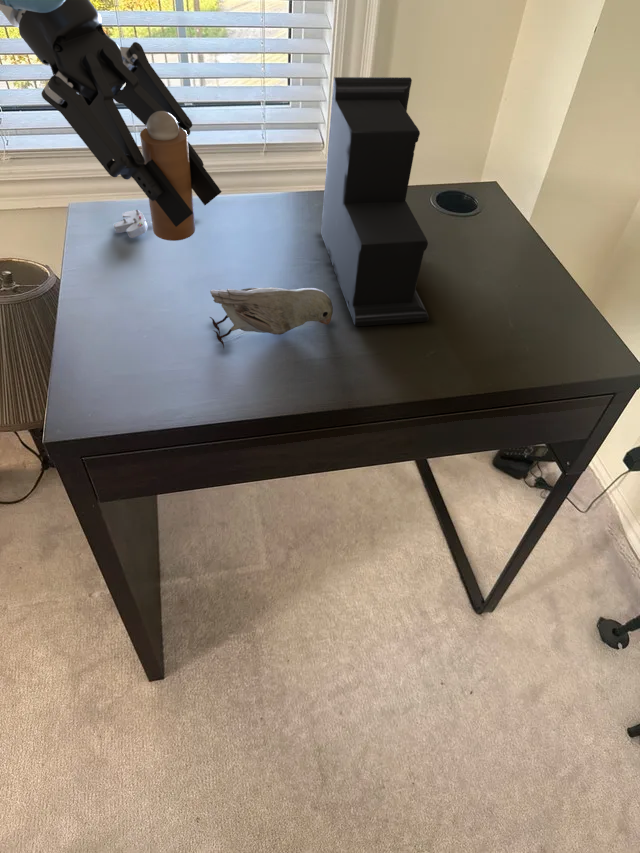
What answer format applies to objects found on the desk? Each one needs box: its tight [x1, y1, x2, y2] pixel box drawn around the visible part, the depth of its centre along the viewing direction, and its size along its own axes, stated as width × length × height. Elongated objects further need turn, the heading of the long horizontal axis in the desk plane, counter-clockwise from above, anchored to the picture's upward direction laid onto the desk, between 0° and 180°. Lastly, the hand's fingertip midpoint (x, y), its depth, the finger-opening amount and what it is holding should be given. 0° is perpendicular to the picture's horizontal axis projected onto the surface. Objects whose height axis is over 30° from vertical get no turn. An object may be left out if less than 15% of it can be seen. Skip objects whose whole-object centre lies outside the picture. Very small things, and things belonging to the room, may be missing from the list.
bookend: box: [320, 76, 430, 327], centre depth 86 cm, size 23×11×24 cm, turn 11°
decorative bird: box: [209, 286, 334, 349], centre depth 82 cm, size 5×16×8 cm, turn 107°
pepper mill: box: [139, 111, 196, 242], centre depth 70 cm, size 5×5×13 cm
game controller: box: [112, 209, 148, 239], centre depth 99 cm, size 6×12×3 cm, turn 129°
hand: (198, 208), depth 71 cm, fingers closed on pepper mill, 5 cm apart
